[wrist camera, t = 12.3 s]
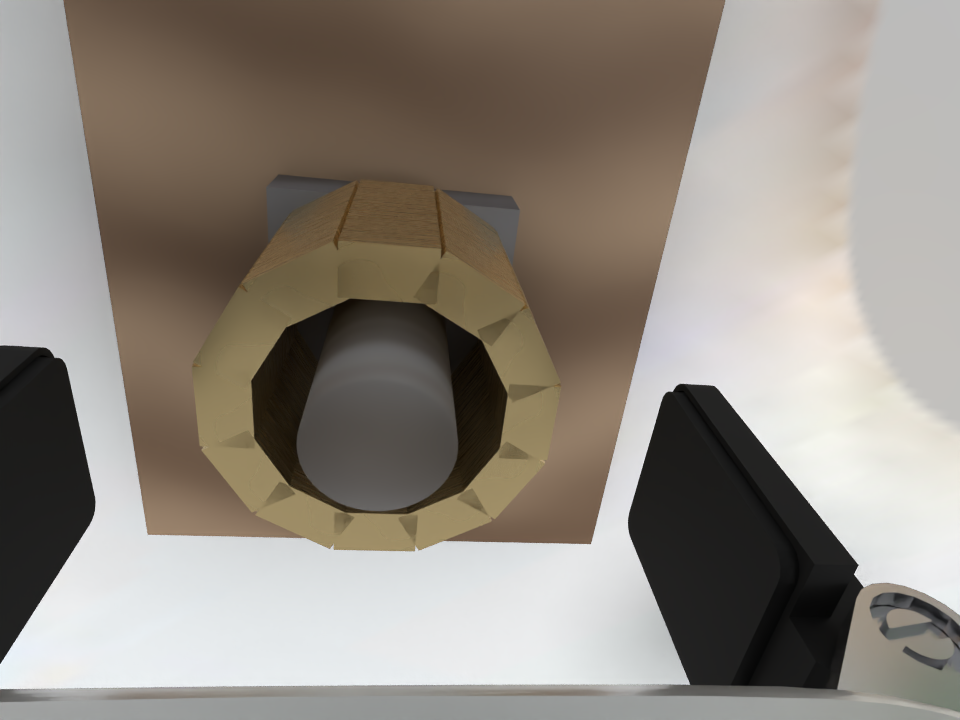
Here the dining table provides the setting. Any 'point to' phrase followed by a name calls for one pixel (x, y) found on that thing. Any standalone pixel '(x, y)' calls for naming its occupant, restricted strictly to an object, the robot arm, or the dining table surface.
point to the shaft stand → (393, 158)
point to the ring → (291, 364)
